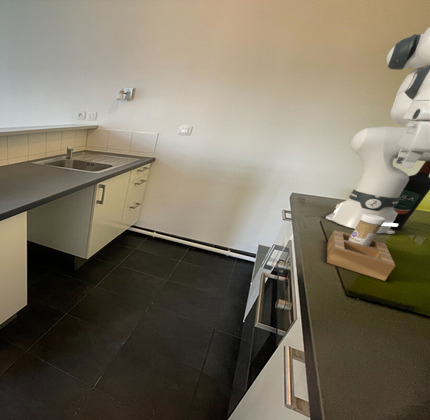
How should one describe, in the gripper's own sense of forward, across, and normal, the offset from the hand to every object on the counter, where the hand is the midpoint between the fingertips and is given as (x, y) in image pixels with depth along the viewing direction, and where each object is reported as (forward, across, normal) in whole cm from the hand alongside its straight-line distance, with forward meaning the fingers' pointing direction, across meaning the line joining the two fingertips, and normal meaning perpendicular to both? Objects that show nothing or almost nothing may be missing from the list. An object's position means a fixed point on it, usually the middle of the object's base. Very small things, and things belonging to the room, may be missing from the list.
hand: (402, 165), depth 69 cm
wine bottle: (+30, -48, +12) cm, 58 cm away
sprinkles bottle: (+29, +2, 0) cm, 29 cm away
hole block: (+28, +7, 0) cm, 29 cm away
